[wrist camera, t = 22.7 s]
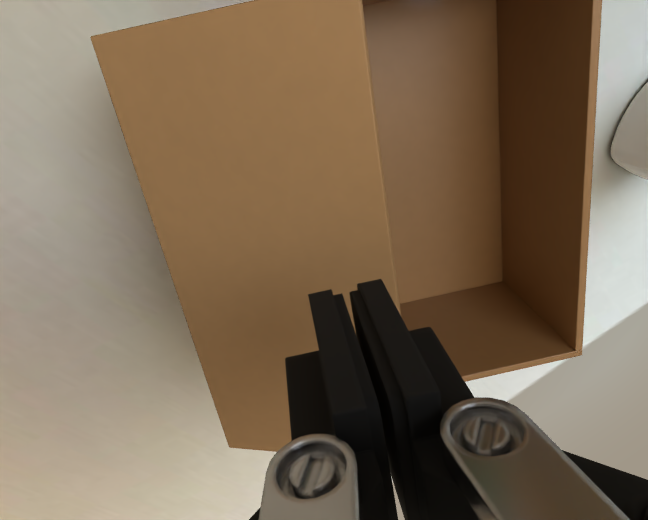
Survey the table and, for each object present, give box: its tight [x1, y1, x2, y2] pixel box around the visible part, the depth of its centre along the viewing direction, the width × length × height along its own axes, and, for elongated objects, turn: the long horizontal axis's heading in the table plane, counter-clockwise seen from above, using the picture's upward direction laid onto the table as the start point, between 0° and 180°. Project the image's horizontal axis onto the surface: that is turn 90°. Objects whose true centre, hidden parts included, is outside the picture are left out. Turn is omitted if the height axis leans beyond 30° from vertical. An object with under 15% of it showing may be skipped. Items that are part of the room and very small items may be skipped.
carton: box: [362, 0, 602, 382], centre depth 20 cm, size 15×15×7 cm
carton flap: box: [91, 0, 401, 452], centre depth 15 cm, size 7×14×1 cm, turn 9°
